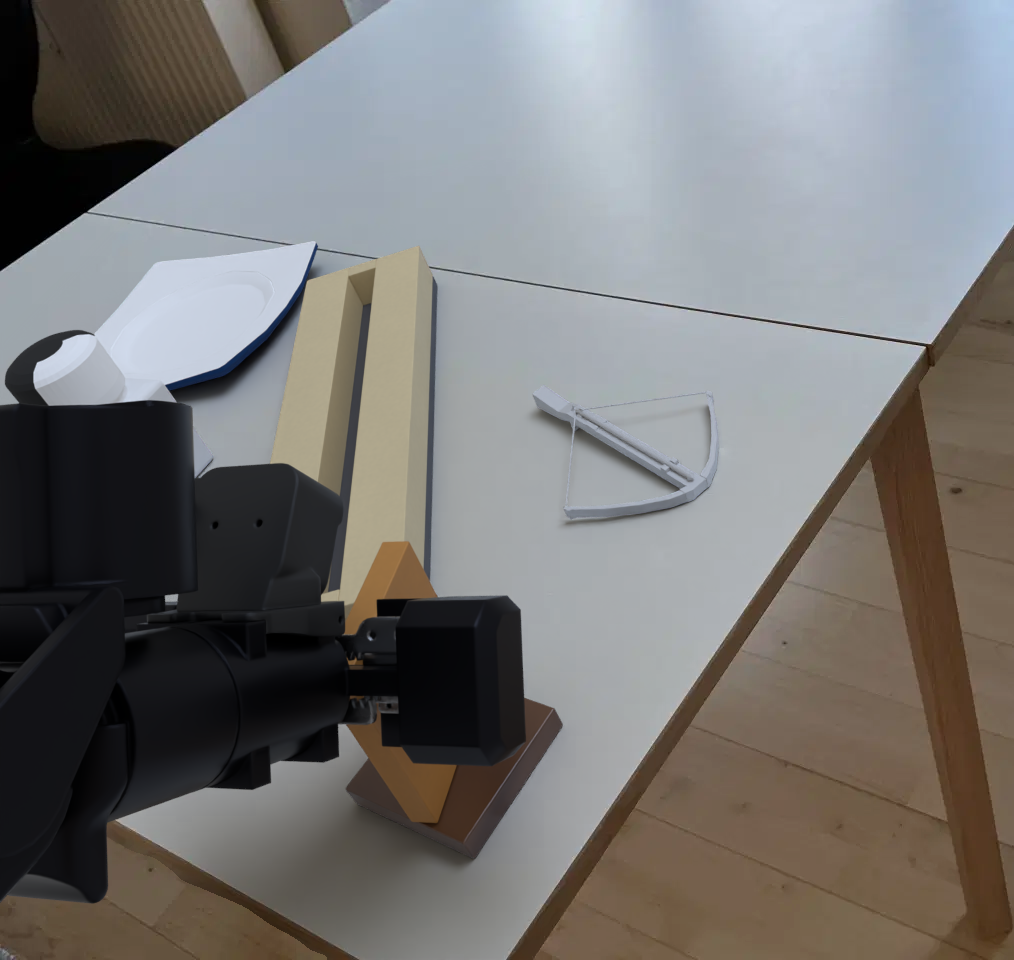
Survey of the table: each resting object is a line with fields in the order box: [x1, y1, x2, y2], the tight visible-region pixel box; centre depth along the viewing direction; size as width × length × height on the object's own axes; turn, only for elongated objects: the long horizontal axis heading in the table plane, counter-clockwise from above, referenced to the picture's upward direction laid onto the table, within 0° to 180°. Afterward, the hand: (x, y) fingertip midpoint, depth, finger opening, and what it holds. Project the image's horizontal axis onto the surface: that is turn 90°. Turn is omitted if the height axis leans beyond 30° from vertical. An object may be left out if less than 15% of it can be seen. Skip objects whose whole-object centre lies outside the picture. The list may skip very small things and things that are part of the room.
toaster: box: [269, 245, 438, 621], centre depth 78 cm, size 40×11×4 cm, turn 8°
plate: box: [93, 240, 319, 392], centre depth 98 cm, size 20×20×3 cm
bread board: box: [344, 697, 564, 859], centre depth 56 cm, size 8×8×2 cm
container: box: [4, 329, 214, 478], centre depth 79 cm, size 8×8×13 cm
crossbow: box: [531, 384, 720, 520], centre depth 71 cm, size 16×13×2 cm
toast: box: [344, 541, 457, 823], centre depth 52 cm, size 8×1×11 cm, turn 170°
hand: (410, 650), depth 52 cm, fingers open, 4 cm apart
